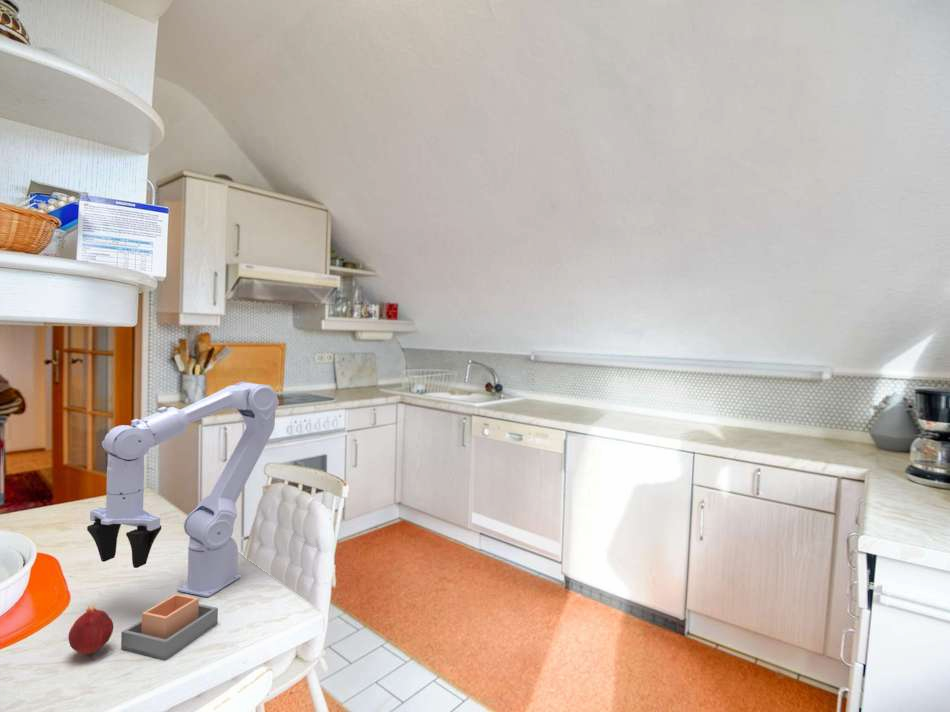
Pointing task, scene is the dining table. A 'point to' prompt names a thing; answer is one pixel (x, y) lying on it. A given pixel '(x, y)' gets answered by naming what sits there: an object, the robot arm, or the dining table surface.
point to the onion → (90, 631)
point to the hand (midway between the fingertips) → (123, 562)
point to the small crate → (170, 616)
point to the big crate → (170, 646)
